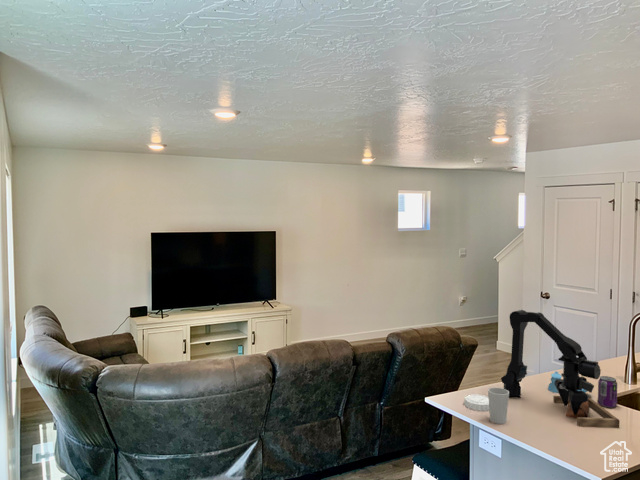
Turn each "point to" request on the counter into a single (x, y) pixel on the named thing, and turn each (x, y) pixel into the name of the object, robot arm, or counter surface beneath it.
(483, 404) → the mooncake
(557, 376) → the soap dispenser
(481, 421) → the counter surface
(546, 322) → the robot arm
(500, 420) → the cup
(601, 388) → the beverage can
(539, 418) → the counter surface
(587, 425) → the corral
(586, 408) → the sunglasses case
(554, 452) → the counter surface
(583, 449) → the counter surface
